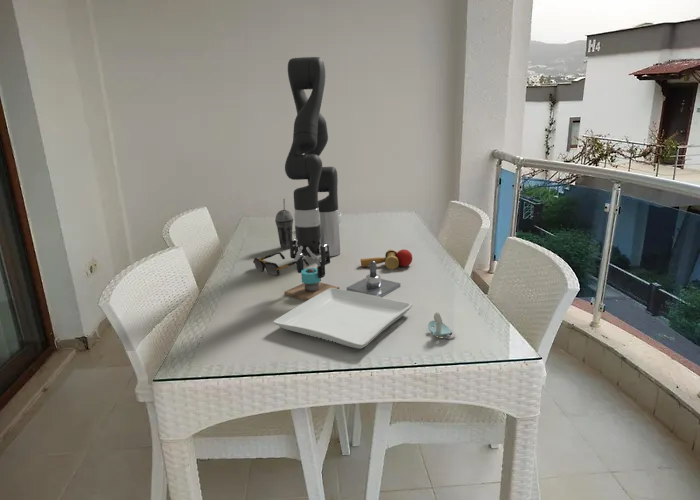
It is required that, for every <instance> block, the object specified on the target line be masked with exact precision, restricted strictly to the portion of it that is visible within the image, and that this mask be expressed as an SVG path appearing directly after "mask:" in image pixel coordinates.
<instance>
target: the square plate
mask: <svg viewBox="0 0 700 500" xmlns="http://www.w3.org/2000/svg"><path fill="white" fill-rule="evenodd" d="M412 308H413V304H412V303H409V302H404V301H400V300H395V299H390V298H386V297H384V296H382V297H378V296H373V295H369V294H364V293H359V292H353V291H347V289H340V288H339V289H336V288H329V289H327V290H326V291H324V292H322V293H320V294H318V295H316V296H315V297H313V298H311V299H309V300H308V301H304V302H302V303H300V304H299V305H297V306H296V307H294V308H292V309H291V310H288V311H287V312H286V313H284V314H283V315H281V316H279V317H277V318H275V319H274V320H273V321H272V323H273V324H275V325H276V326H278V327H280V328H282V329H284V330H287V331H290V332H295V333H299V334H302V335H305V334H306V336H309V335H310V336H309V337H313V336H314V337H313V338H316V337H318V338H317V339H320V338H322V339H321V340H324V339H325V340H324V341H328V340H329V341H328V342H332V341H333V342H332V343H335V342H336V343H335V344H340V345H341V346H346V347H350V348H353V349H360V350H361V349H363V348H364V347H366V346H368V345H369V344H370V343H371V342H372V341H373V340H374V339H375V338H376V337H378V336H379V335H380V334H381V333H382V332H383V331H384V330H386V329H387V328H389V327H390V326H391V325H393V324H395V322H397V321H398V320H399V319H401V318H402V317H403V316H404V315H405V314H406V313H407V312H409V310H410V309H412Z"/></svg>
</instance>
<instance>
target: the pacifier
mask: <svg viewBox="0 0 700 500" xmlns="http://www.w3.org/2000/svg"><path fill="white" fill-rule="evenodd" d="M427 329H428V330H429V332H431V333H432V335H433V336H435V337H436V336H438V337H443V338H442V339H446V340H451V339H454V338H455V337H456V332H455V331H454V330H453V329H452V328H450V327H449V326H447V325H446V324H445V323H444V322H443V319H442V316H441V314H440V313H439V312H438V311H435V313H434V315H433V320H431V321H430V322H428V325H427ZM451 333H452V334H451ZM450 334H451V335H450ZM438 337H437V338H438Z"/></svg>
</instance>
